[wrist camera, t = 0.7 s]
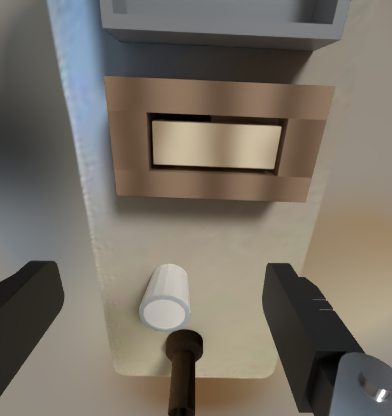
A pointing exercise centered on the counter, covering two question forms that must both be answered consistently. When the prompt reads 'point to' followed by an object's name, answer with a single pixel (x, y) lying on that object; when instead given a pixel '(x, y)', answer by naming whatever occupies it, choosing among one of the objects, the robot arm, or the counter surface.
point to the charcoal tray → (227, 22)
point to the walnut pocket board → (219, 112)
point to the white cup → (166, 299)
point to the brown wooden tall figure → (183, 370)
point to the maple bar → (215, 143)
